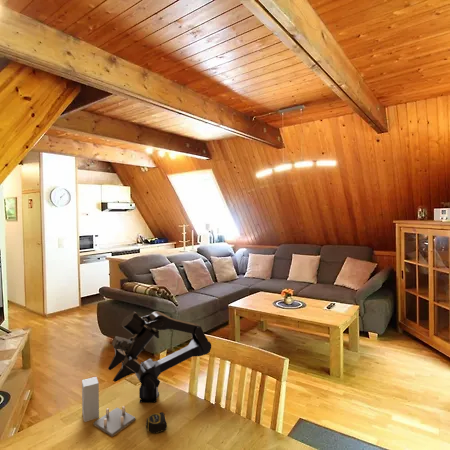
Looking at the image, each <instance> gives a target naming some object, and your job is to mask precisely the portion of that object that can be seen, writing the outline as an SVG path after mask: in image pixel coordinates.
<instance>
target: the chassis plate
mask: <svg viewBox="0 0 450 450" xmlns="http://www.w3.org/2000/svg"><path fill="white" fill-rule="evenodd" d="M134 421H136V417H135V416H134V415H132V414H130V413H128V412H126V406H123V405H122V408H119V407H116V408H114V409H112V410H110V407H109V408H108V407H107V408H106V409H105V414H104V415H102V416H101V417H99V418H97V419H96V420H94V422H93V426H94V427H95V428H98V429H99V430H101V431H103V432H104V433H105V434H107V435H109V436H110V437H114V436H116V435H117V434H118V433H119V432H121V431H122V430H124V429H125V428H126V427H128V426H129V425H131V424H132V423H133V422H134Z"/></svg>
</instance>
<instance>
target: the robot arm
mask: <svg viewBox="0 0 450 450" xmlns="http://www.w3.org/2000/svg"><path fill="white" fill-rule="evenodd" d="M121 327H123V329H125V330H126V331H127V332H129V333H130V334H131V335H134V336H130V337H129V338H125V337H121V336H117V335H115V337H114V339H113V341H112V342H111V346H113V347H112V348H113V349H114V356H113V358H112V360H111V361H110V363H109V365H108V368H107V369H108V371H112V369H114V368H116V367H117V366H119V364H121V367H120V369H118V371H117V373H116V375H115V376H114V378H113V380H112V381H113V382H117V381H120V380H122V379H123V378H126V377H127V376H130V375H133V374H135V376H136V378H137V379H138V381H139V383H140V386H139V391H138V392H139V393H138V396H139V403H142V404H143V403H145V404H146V403H148V404H150V403H151V404H152V403H153V404H154V403H157V401H158V397H159V395H160V392H159V386H160V384H161V380H160V379H159V377H160V376H161V374H162V373H163V372H165V371H168V370H169V369H171V368H173V367H175V366H177V365H179V364H181V363H183V362H185V361H186V360H189V359H190V358H193V357H194V358H195V357H203V356H205V355H209V353H210V352H211V349H212V343H211V342H210V341H209V340H208V338H207V336H206V334H205V333H204V331H203V328H202V326H201V325H199V324H198V323H196V322H191V321H190V322H189V321H186V320H181V319H178V318H173V317H170V316H168V315H167V314H164V313H163V312H160V311H157V310H155V311H153V312H151V313H149V314H148V315H144V316H140V315H139V314H138V313H137V312H136V311H133V312H132V313H129V314H128V315H127V316H125V317H124V318H123V320H122V321H121ZM166 330H175V331H178V332H184V333H188V334H191V340H190V342H189V344H188V345H186V346H185V347H183V348H180V349H178V350H176V351H174V352H172V353H170V354H168V355H166V356H163V357H162V358H159V359H158V360H153V359H152V358H151V357H150V358H147V360H145V361H141V362H139V357H138V356H139V355H140V354H141V352H142V351H143V352H145V350H146V347H147V345H148V344H149V342H151V340H152V339H153V338H154V337H155V338H156V339H159V338H160V331H166Z"/></svg>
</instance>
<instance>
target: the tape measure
mask: <svg viewBox="0 0 450 450" xmlns="http://www.w3.org/2000/svg"><path fill="white" fill-rule="evenodd" d="M165 415H166V414H165V413H164V412H163V411H162V412H157V413H152V414H150V415H148V417H147V418H146V421H145V422H146V423H145V428H146V430H147V431H148V432H149V433H152V434H158V433H160V432H163V431H166V430H167V429H168V423H167V421H166V416H165Z"/></svg>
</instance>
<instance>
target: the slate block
mask: <svg viewBox="0 0 450 450" xmlns="http://www.w3.org/2000/svg"><path fill="white" fill-rule="evenodd" d="M99 384H100V383H99V380H98V377H97V376H93V377H89V378H86V379H82V380H81V400H82V401H81V407H82V410H81V411H82V418H83V422H84V423H86V422H89V421H92V420H95V419H96V420H97V419H100V395H99V394H100V390H99V389H100V388H99V387H100V385H99Z"/></svg>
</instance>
